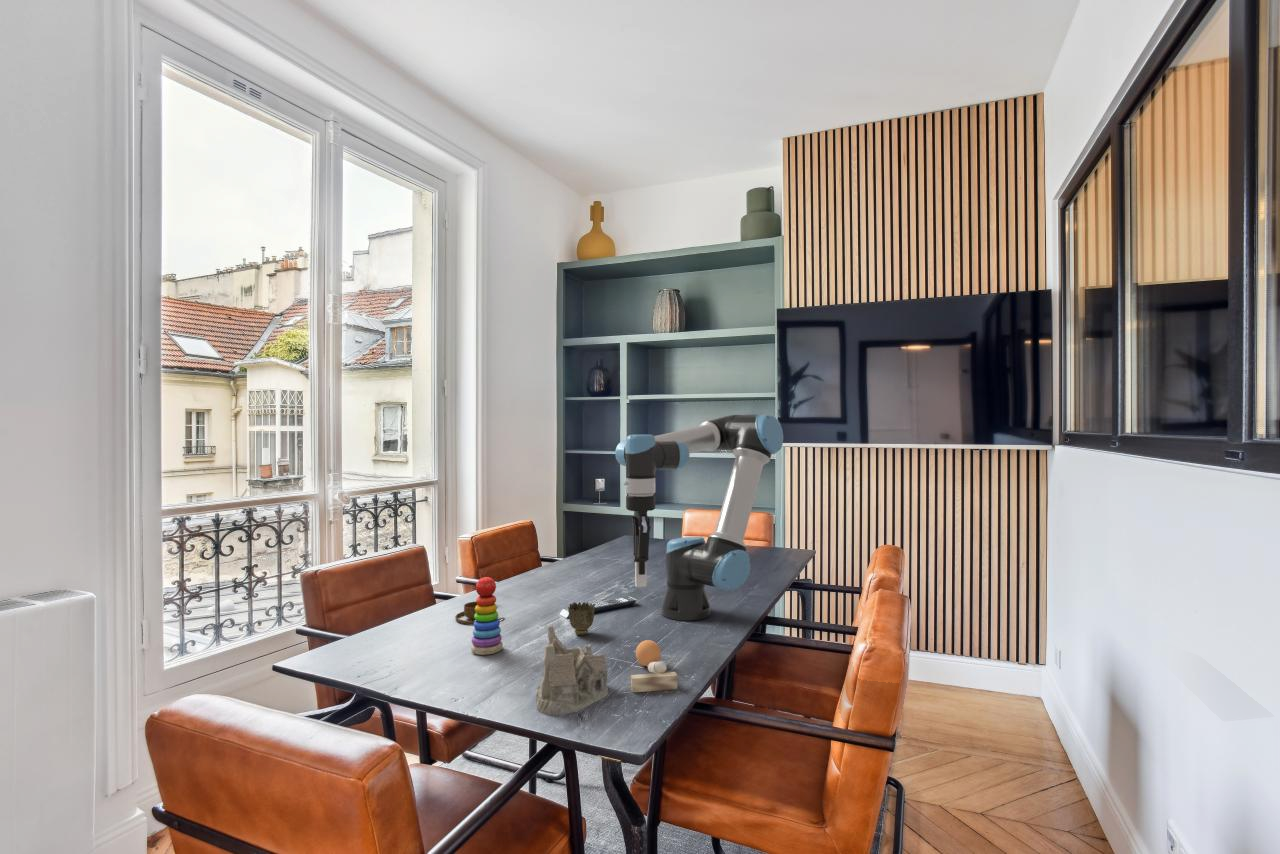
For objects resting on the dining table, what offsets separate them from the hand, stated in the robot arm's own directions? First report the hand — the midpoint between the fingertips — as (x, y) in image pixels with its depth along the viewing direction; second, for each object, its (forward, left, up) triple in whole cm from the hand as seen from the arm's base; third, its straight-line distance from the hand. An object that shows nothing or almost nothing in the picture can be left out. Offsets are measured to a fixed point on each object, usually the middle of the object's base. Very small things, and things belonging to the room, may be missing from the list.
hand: (640, 586), depth 162 cm
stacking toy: (+39, -7, -17) cm, 43 cm away
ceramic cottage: (+20, +25, -17) cm, 36 cm away
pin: (0, +15, -15) cm, 21 cm away
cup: (+14, -15, -17) cm, 26 cm away
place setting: (+42, -38, -17) cm, 59 cm away
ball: (0, +11, -13) cm, 17 cm away
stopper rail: (+2, +24, -16) cm, 29 cm away
